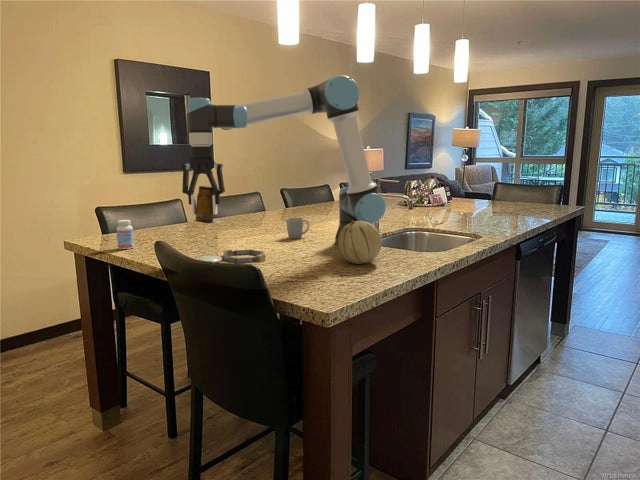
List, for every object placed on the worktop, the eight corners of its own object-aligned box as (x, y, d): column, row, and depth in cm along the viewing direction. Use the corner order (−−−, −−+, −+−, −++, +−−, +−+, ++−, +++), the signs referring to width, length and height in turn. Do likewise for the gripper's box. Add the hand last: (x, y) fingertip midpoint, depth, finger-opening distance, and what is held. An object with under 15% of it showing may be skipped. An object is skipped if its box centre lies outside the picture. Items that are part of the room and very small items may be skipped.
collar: (275, 257, 172) (275, 251, 172) (249, 265, 161) (249, 259, 160) (239, 251, 182) (238, 246, 182) (211, 258, 171) (211, 253, 170)
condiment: (204, 218, 171) (206, 185, 168) (222, 222, 167) (225, 188, 164) (189, 220, 164) (191, 185, 162) (207, 224, 160) (210, 188, 158)
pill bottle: (117, 250, 186) (114, 222, 184) (119, 247, 192) (116, 219, 190) (133, 249, 188) (131, 221, 186) (135, 246, 194) (132, 219, 192)
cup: (284, 236, 212) (284, 217, 210) (306, 235, 215) (306, 216, 213) (288, 240, 204) (288, 220, 203) (311, 238, 207) (310, 219, 206)
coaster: (228, 259, 169) (227, 258, 169) (206, 265, 161) (206, 263, 161) (208, 256, 174) (208, 254, 174) (186, 261, 166) (186, 260, 166)
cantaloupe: (389, 262, 163) (390, 219, 160) (364, 270, 152) (364, 224, 149) (355, 256, 172) (355, 215, 170) (328, 263, 162) (328, 220, 159)
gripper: (232, 145, 163) (235, 212, 168) (176, 146, 165) (180, 212, 169) (227, 145, 156) (230, 215, 160) (168, 146, 157) (173, 215, 162)
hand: (204, 213), depth 165 cm, fingers closed on condiment, 7 cm apart
